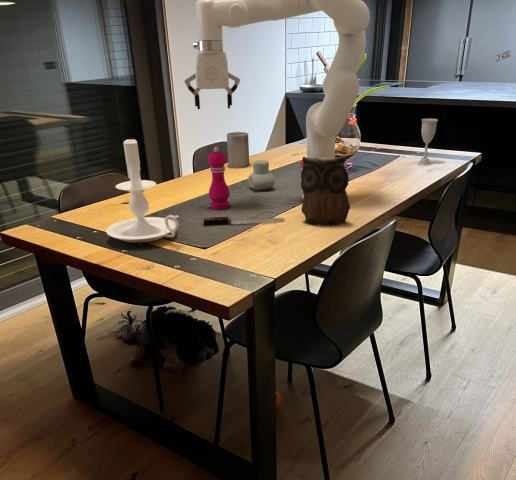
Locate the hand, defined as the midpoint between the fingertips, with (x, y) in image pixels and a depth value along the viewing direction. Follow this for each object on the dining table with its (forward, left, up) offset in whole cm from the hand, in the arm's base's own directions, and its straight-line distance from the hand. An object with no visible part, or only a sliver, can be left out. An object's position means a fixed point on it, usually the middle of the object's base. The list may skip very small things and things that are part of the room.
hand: (213, 108), depth 171 cm
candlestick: (+32, +20, -32) cm, 50 cm away
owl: (-22, +34, -32) cm, 51 cm away
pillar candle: (-35, -55, -32) cm, 72 cm away
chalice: (-104, -10, -32) cm, 109 cm away
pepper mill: (0, +1, -32) cm, 32 cm away
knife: (+1, +21, -31) cm, 38 cm away
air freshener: (-24, -13, -32) cm, 42 cm away
